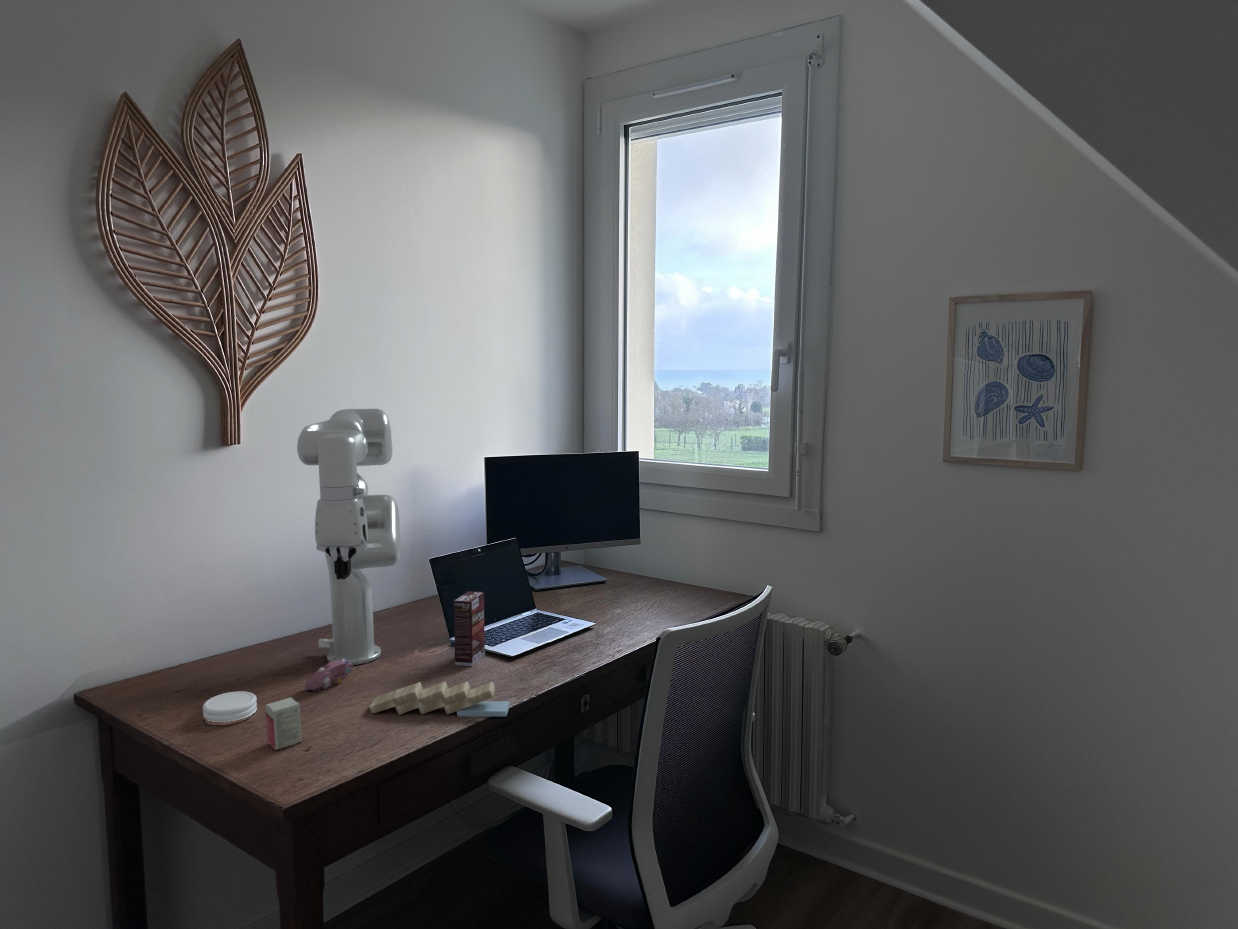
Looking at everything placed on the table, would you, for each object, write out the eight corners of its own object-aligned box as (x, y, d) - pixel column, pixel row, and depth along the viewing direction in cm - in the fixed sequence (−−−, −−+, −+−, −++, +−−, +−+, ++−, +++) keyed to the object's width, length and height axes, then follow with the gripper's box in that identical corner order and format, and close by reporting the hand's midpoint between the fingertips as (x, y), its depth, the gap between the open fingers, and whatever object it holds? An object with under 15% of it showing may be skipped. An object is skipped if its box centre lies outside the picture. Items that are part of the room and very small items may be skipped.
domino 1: (368, 707, 165) (414, 691, 165) (375, 697, 170) (420, 682, 170) (371, 714, 166) (417, 698, 165) (378, 703, 171) (422, 688, 170)
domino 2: (395, 708, 165) (441, 690, 165) (400, 698, 170) (445, 681, 170) (398, 715, 165) (444, 697, 165) (403, 705, 170) (448, 688, 170)
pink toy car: (315, 701, 176) (323, 676, 174) (301, 688, 178) (310, 663, 175) (350, 685, 185) (359, 661, 182) (337, 673, 186) (345, 649, 184)
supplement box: (473, 667, 191) (471, 602, 189) (454, 665, 192) (452, 600, 190) (486, 654, 199) (484, 591, 197) (468, 652, 200) (466, 590, 198)
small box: (293, 735, 156) (291, 696, 155) (302, 743, 153) (300, 703, 152) (266, 743, 153) (264, 704, 152) (275, 751, 150) (272, 711, 149)
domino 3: (418, 707, 165) (464, 690, 165) (422, 697, 170) (467, 681, 170) (421, 714, 165) (467, 697, 165) (425, 704, 170) (470, 688, 170)
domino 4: (444, 707, 164) (490, 690, 165) (447, 698, 169) (492, 681, 170) (447, 714, 164) (493, 697, 165) (450, 705, 169) (495, 688, 170)
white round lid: (253, 724, 162) (252, 707, 161) (198, 730, 159) (197, 713, 159) (260, 704, 171) (260, 688, 171) (209, 709, 169) (208, 693, 168)
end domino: (457, 711, 164) (505, 711, 164) (462, 701, 169) (509, 701, 169) (457, 718, 165) (506, 718, 164) (462, 708, 170) (509, 708, 169)
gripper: (380, 490, 173) (383, 573, 175) (312, 489, 174) (317, 572, 177) (366, 497, 165) (370, 583, 168) (296, 495, 167) (301, 582, 169)
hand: (343, 577), depth 172 cm, fingers closed
